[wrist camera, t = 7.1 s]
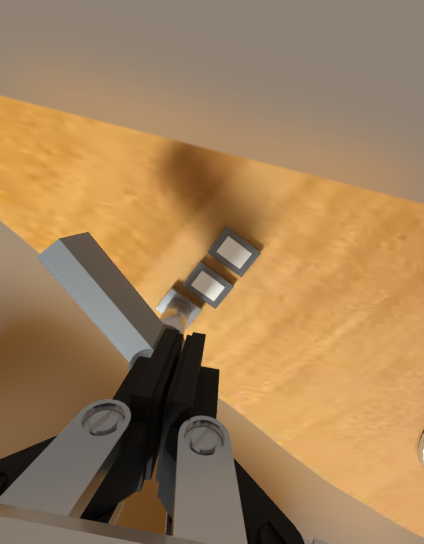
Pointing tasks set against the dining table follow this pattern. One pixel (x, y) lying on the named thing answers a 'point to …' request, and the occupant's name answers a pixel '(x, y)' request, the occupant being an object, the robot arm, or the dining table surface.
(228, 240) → the label plate
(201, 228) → the dining table surface
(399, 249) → the dining table surface
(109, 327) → the swing bar
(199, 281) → the label plate
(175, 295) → the bar post
